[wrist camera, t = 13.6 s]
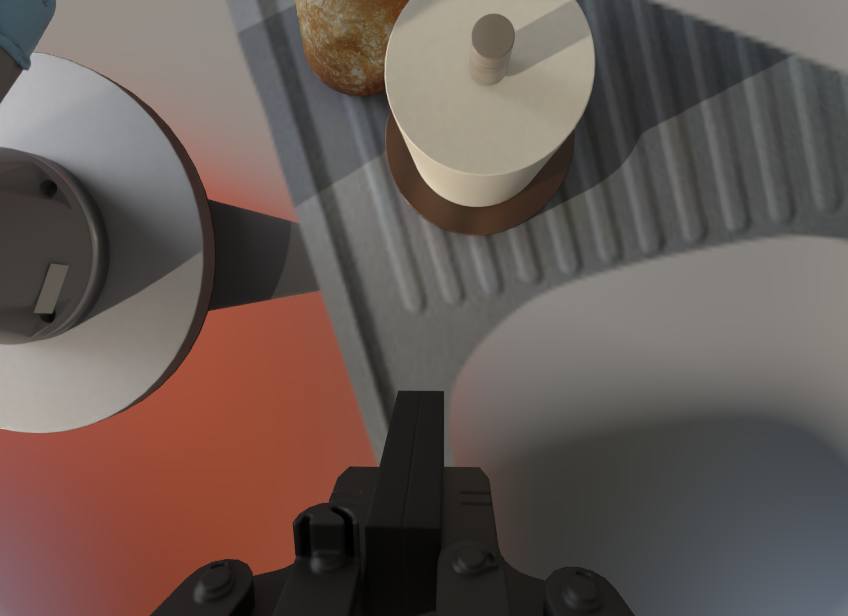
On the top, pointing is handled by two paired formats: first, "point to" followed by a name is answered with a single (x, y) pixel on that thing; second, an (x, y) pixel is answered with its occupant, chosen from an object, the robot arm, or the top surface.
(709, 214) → the top surface
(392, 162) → the towel holder
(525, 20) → the paper towel roll
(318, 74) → the bread roll
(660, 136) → the top surface
